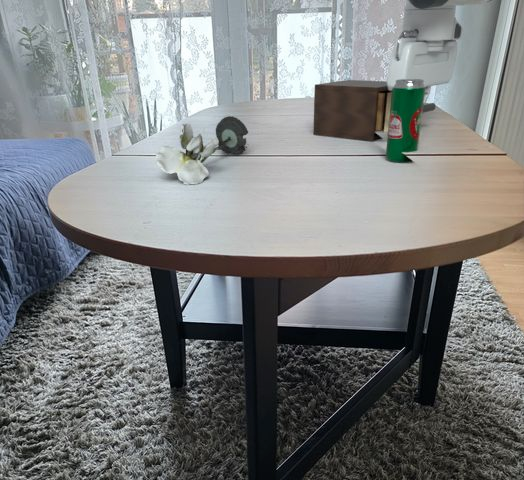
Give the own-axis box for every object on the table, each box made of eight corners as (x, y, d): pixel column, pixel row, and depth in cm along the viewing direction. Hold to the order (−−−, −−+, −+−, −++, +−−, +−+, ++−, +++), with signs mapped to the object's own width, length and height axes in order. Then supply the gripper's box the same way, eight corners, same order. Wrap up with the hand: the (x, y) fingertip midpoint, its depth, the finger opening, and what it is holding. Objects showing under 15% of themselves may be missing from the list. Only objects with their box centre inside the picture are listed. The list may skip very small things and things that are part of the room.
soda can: (380, 158, 87) (387, 79, 81) (407, 156, 88) (416, 78, 82) (393, 164, 83) (402, 81, 77) (421, 161, 84) (432, 80, 78)
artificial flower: (258, 163, 92) (268, 106, 85) (191, 211, 77) (196, 147, 70) (216, 146, 94) (222, 89, 87) (142, 190, 78) (142, 125, 71)
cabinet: (403, 132, 108) (409, 82, 103) (372, 141, 100) (377, 87, 95) (345, 127, 117) (348, 79, 112) (313, 134, 109) (314, 84, 104)
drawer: (437, 131, 103) (443, 89, 99) (410, 140, 96) (416, 94, 92) (360, 124, 113) (363, 85, 109) (331, 131, 106) (333, 90, 102)
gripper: (416, 29, 83) (405, 121, 90) (466, 28, 96) (453, 108, 103) (382, 30, 86) (374, 118, 94) (435, 29, 99) (424, 106, 107)
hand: (416, 113), depth 99 cm, fingers closed
